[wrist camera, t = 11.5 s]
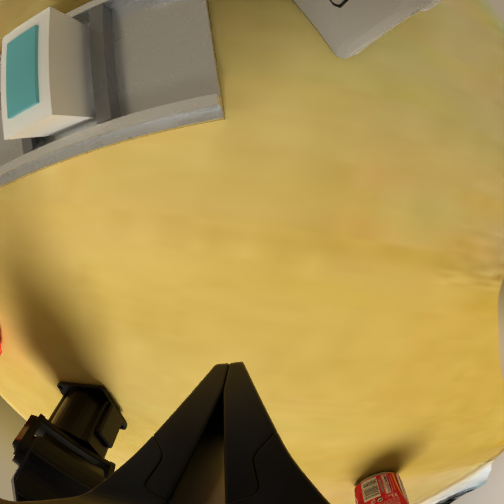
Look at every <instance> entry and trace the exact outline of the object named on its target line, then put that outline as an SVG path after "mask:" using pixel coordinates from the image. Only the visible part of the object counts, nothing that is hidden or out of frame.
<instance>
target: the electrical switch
mask: <svg viewBox="0 0 504 504" xmlns="http://www.w3.org/2000/svg"><path fill="white" fill-rule="evenodd" d="M293 1H294V2H295V3H296V4H297V6H298V7H299V8H300V9H301V10H302V12H303V13H304V14H305V15H306V17H307V18H308V19H309V20H310V22H311V23H312V24H313V25H314V27H315V28H316V29H317V31H318V32H319V33H320V34H321V36H322V37H323V38H324V40H325V41H326V43H327V44H328V45H329V47H330V48H331V49H332V51H333V52H334V54H335V55H336V56H337V57H340V58H343V59H345V58H348V57H351V56H354V55H356V54H358V53H359V52H361V51H362V50H363V49H364V48H365V47H367V46H368V45H370V44H371V43H373V42H374V41H375V40H377V39H378V38H380V37H381V36H382V35H384V34H385V33H387V32H388V31H390V30H391V29H393V28H394V27H395V26H397V25H398V24H400V23H401V22H403V21H404V20H406V19H407V18H409V17H410V16H412V15H414V14H415V13H417V12H419V11H423V12H425V11H427V10H429V9H431V8H433V7H435V6H436V5H437V4H438V3H439V2H440V1H441V0H293Z"/></svg>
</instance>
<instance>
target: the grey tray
mask: <svg viewBox="0 0 504 504" xmlns="http://www.w3.org/2000/svg"><path fill="white" fill-rule="evenodd" d="M66 15H68V16H70V17H72V18H73V19H75V20H77V21H79V22H81V23H82V24H84V25H86V26H88V27H89V35H90V59H91V74H92V85H93V96H94V105H95V113H96V119H93V120H91V121H88V122H85V123H83V124H80V125H78V126H75V127H72V128H70V129H68V130H65V131H63V132H60V133H58V134H56V135H53V136H45V137H30V138H18V139H8V140H4V133H3V121H2V105H1V56H2V54H1V55H0V187H2V186H5V185H7V184H9V183H11V182H14V181H16V180H18V179H20V178H23V177H25V176H27V175H30V174H32V173H35V172H37V171H40V170H42V169H45V168H47V167H50V166H52V165H55V164H58V163H61V162H63V161H66V160H69V159H72V158H74V157H77V156H80V155H83V154H86V153H89V152H92V151H95V150H99V149H102V148H105V147H108V146H112V145H115V144H118V143H122V142H125V141H129V140H133V139H136V138H140V137H144V136H148V135H152V134H156V133H160V132H164V131H169V130H173V129H177V128H182V127H187V126H192V125H197V124H202V123H207V122H212V121H218V120H224V119H225V115H224V108H223V102H222V95H221V89H220V82H219V76H218V69H217V62H216V56H215V49H214V42H213V36H212V29H211V22H210V16H209V9H208V2H207V0H93V1H91V2H89V3H86V4H84V5H82V6H80V7H78V8H76V9H74V10H72V11H70V12H68V13H66Z"/></svg>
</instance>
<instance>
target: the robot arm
mask: <svg viewBox="0 0 504 504" xmlns="http://www.w3.org/2000/svg"><path fill="white" fill-rule="evenodd" d="M57 386H58V388H59V390H60V391H61V393H62V395H63V397H62V399H61V400H60V402H59V404H58V405H57V407H56V408H55V410H54V412H53V413H52V415H51V416H50V418H49V420H47V419H46V418H45V416H43V415H42V414H40V415H39V417H37V416H34V415H31V416H30V418H29V419H28V421H27V422H26V424H25V425H24V427H23V428H22V430H21V431H20V433H19V434H18V436H17V437H16V438H15V440H14V441H13V443H12V444H13V447H14V451H15V452H14V453H13V454H14V455H15V456H14V458H13V460H12V461H13V462H14V463H16V464H17V465H19V466H18V468H17V470H16V472H15V474H14V476H13V477H12V480H11V483H12V490H13V496H14V501H8V500H4V499H1V498H0V504H330V503H329V502H328V501H327V500H326V499H325V498H324V496H323V495H322V494H321V493H320V492H319V491H318V489H317V488H316V487H315V486H314V485H313V484H312V482H311V481H310V480H309V479H308V478H307V476H306V475H305V474H304V473H303V471H302V470H301V469H300V468H299V466H298V465H297V464H296V462H295V461H294V460H293V458H292V457H291V455H290V454H289V452H288V450H287V449H286V447H285V445H284V444H283V442H282V440H281V438H280V436H279V434H278V433H277V430H276V428H275V426H274V424H273V422H272V420H271V418H270V417H269V415H268V413H267V411H266V408H265V406H264V404H263V402H262V400H261V398H260V396H259V394H258V392H257V390H256V388H255V386H254V384H253V382H252V380H251V378H250V376H249V373H248V371H247V369H246V367H245V365H244V363H243V362H235V363H231V364H230V365H229V364H228V363H225V364H217V365H215V366H214V367H213V368H212V369H211V371H210V372H209V373H208V374H207V375H206V376H205V378H204V379H203V380H202V381H201V382H200V383H199V385H198V386H197V387H196V388H195V389H194V390H193V391H192V393H191V394H190V395H189V396H188V397H187V398H186V399H185V401H184V402H183V403H182V404H181V405H180V406H179V407H178V408H177V410H176V411H175V412H174V413H173V414H172V415H171V416H170V417H169V419H168V420H167V421H166V422H165V423H164V424H163V425H162V426H161V427H160V429H159V430H158V431H157V432H156V433H155V434H154V436H152V437H151V438H150V439H149V440H148V441H147V443H146V444H145V445H144V446H143V447H142V448H141V449H140V450H139V451H138V452H137V453H136V454H135V455H134V456H133V457H131V458H130V459H129V460H128V461H127V462H126V463H125V464H123V465H122V466H121V467H120V468H119V469H118V470H116V471H115V472H114V470H115V464H114V463H113V462H109V461H108V460H106V459H104V458H105V455H106V453H107V450H108V448H112V446H113V444H114V441H115V439H116V436H117V434H118V432H119V429H123V430H125V429H126V428H127V424H126V422H125V421H124V419H123V418H122V416H121V414H120V413H119V411H118V410H117V408H116V406H115V405H114V403H113V401H112V399H111V398H110V396H109V394H108V393H107V391H106V389H105V388H104V387H102V386H96V385H85V384H75V383H66V382H59V383H58V385H57ZM34 434H35V435H36V437H35V436H34Z"/></svg>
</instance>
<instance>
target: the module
mask: <svg viewBox="0 0 504 504" xmlns="http://www.w3.org/2000/svg"><path fill="white" fill-rule="evenodd" d="M1 105H2V121H3V133H4V140H8V139H18V138H30V137H45V136H53V135H56V134H58V133H60V132H63V131H65V130H68V129H70V128H72V127H75V126H78V125H80V124H83V123H85V122H88V121H91V120H93V119H96V113H95V105H94V96H93V85H92V74H91V59H90V35H89V27H88V26H86V25H84V24H82V23H81V22H79V21H77V20H75V19H73V18H72V17H70V16H68V15H66V14H64V13H62V12H60V11H58V10H56V9H55V8H53V7H51V6H50V7H48V8H47V9H45V10H43V11H42V12H40V13H38V14H37V15H35V16H34V17H32V18H30V19H29V20H27V21H26V22H24V23H23V24H21V25H20V26H18V27H17V28H16V29H14V30H13V31H11V32H10V33H9V34H7V35H6V36H5V37H3V40H2V56H1Z"/></svg>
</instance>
